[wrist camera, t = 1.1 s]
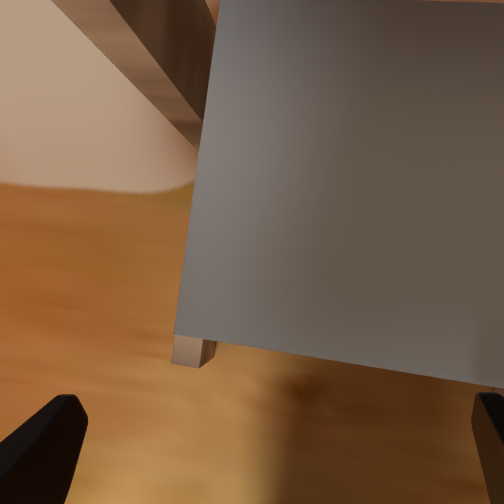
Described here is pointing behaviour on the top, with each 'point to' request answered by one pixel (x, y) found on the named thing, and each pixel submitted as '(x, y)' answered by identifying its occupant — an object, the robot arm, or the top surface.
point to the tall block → (353, 186)
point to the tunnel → (163, 76)
